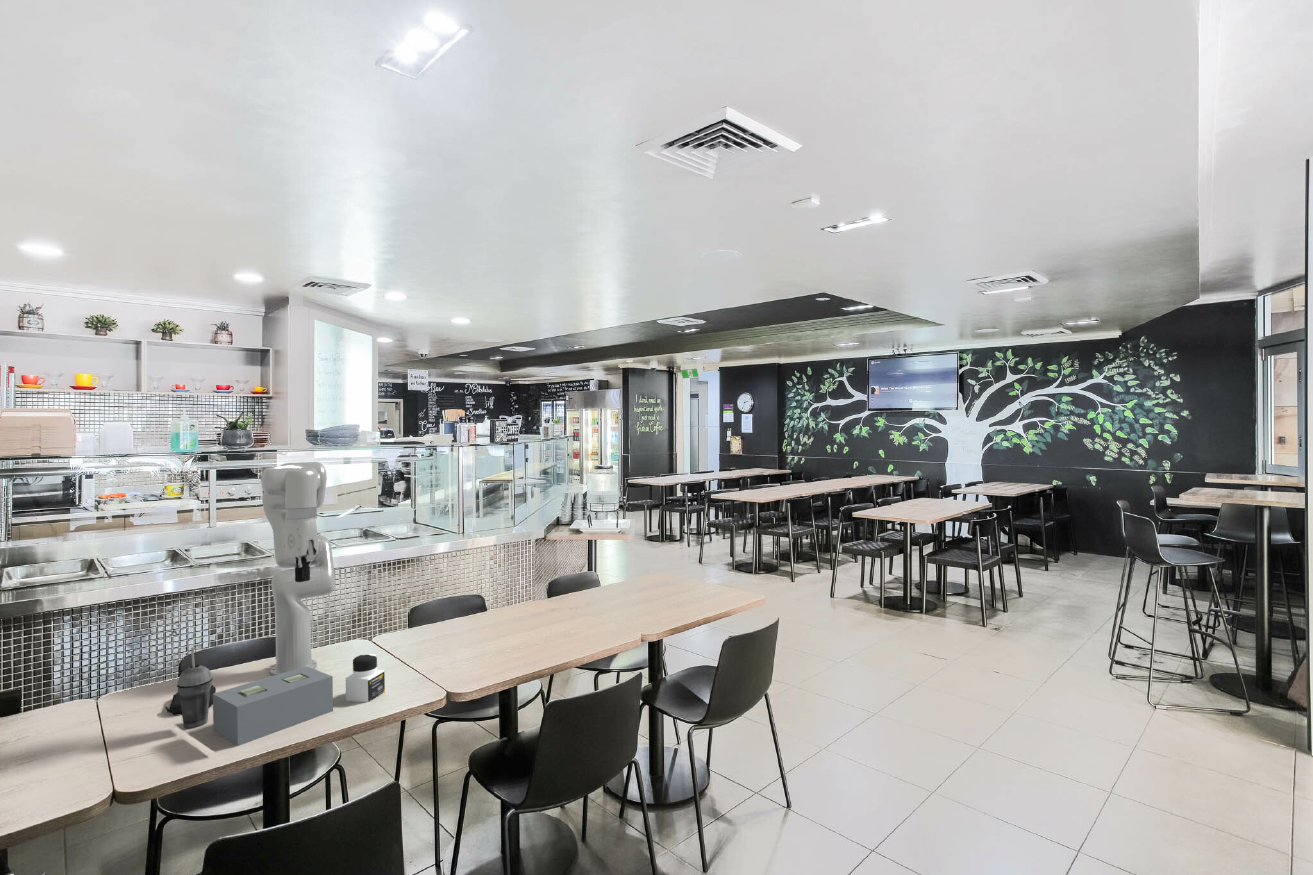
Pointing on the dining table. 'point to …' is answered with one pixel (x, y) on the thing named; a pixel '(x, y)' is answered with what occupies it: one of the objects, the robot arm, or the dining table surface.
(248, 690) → the proud peg
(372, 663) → the medicine bottle
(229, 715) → the socket block
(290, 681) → the flush peg
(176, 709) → the carrying case or bag
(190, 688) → the beverage cup
